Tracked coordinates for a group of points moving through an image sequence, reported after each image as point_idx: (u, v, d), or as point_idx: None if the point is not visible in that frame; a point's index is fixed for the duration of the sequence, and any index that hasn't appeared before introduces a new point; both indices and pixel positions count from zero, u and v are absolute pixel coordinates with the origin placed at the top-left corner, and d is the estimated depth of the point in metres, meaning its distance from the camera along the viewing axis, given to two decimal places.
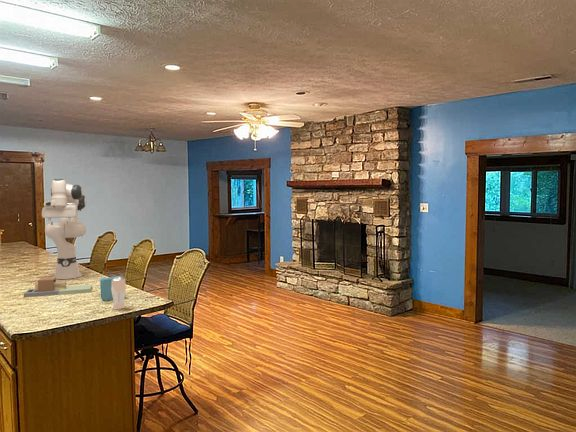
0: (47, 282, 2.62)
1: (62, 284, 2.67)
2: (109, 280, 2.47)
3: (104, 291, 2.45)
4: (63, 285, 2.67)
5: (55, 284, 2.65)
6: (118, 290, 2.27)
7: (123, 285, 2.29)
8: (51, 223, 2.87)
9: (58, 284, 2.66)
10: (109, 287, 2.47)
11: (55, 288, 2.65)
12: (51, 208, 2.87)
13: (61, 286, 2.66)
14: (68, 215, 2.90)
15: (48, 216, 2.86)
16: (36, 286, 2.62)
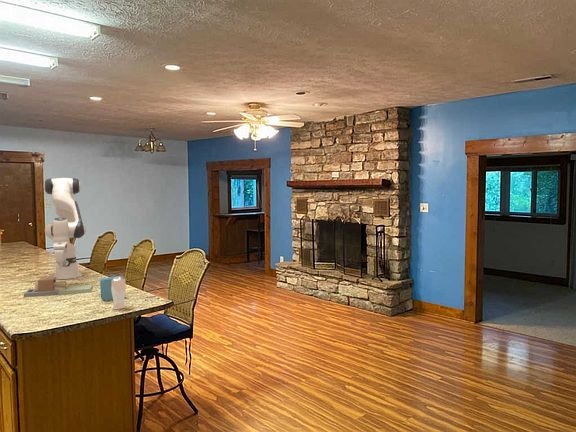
0: (47, 282, 2.62)
1: (62, 284, 2.67)
2: (109, 280, 2.47)
3: (104, 291, 2.45)
4: (63, 285, 2.67)
5: (55, 284, 2.65)
6: (118, 290, 2.27)
7: (123, 285, 2.29)
8: (62, 267, 2.63)
9: (58, 284, 2.66)
10: (109, 287, 2.47)
11: (55, 288, 2.65)
12: (64, 250, 2.64)
13: (61, 286, 2.66)
14: (66, 256, 2.73)
15: (63, 259, 2.62)
16: (36, 286, 2.62)
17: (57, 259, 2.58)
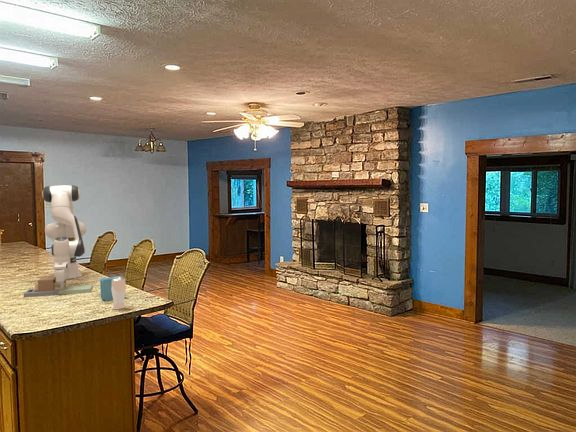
0: (47, 282, 2.62)
1: None
2: (109, 280, 2.47)
3: (104, 291, 2.45)
4: None
5: (55, 284, 2.65)
6: (118, 290, 2.27)
7: (123, 285, 2.29)
8: (63, 286, 2.66)
9: (58, 284, 2.66)
10: (109, 287, 2.47)
11: (55, 288, 2.65)
12: (65, 270, 2.65)
13: None
14: (67, 275, 2.74)
15: (64, 279, 2.63)
16: (36, 286, 2.62)
17: (58, 279, 2.58)
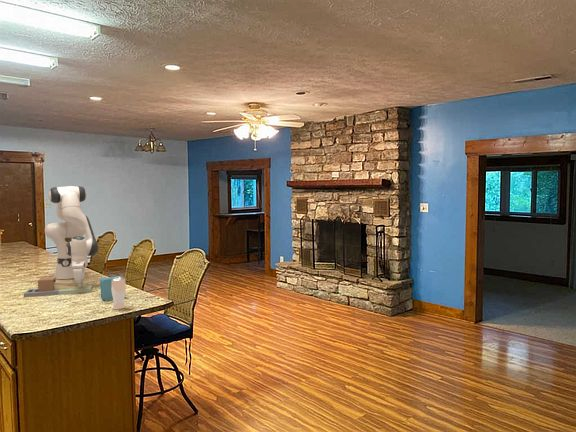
0: (47, 282, 2.62)
1: None
2: (109, 280, 2.47)
3: (104, 291, 2.45)
4: None
5: (71, 283, 2.68)
6: (118, 290, 2.27)
7: (123, 285, 2.29)
8: (81, 285, 2.69)
9: (74, 283, 2.68)
10: (109, 287, 2.47)
11: (71, 287, 2.68)
12: (82, 269, 2.67)
13: (77, 285, 2.69)
14: (84, 274, 2.77)
15: None
16: None
17: (76, 278, 2.61)
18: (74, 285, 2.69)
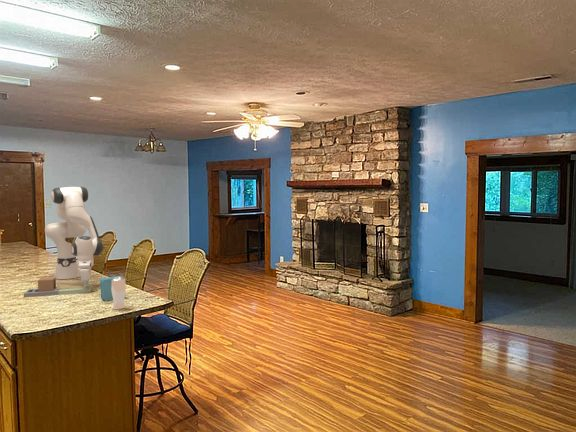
0: (47, 282, 2.62)
1: (83, 283, 2.70)
2: (109, 280, 2.47)
3: (104, 291, 2.45)
4: None
5: (76, 283, 2.69)
6: (118, 290, 2.27)
7: (123, 285, 2.29)
8: (87, 284, 2.70)
9: (79, 283, 2.69)
10: (109, 287, 2.47)
11: (76, 287, 2.69)
12: None
13: (82, 285, 2.70)
14: (90, 274, 2.78)
15: (88, 278, 2.67)
16: (58, 285, 2.66)
17: (82, 278, 2.62)
18: (79, 285, 2.69)
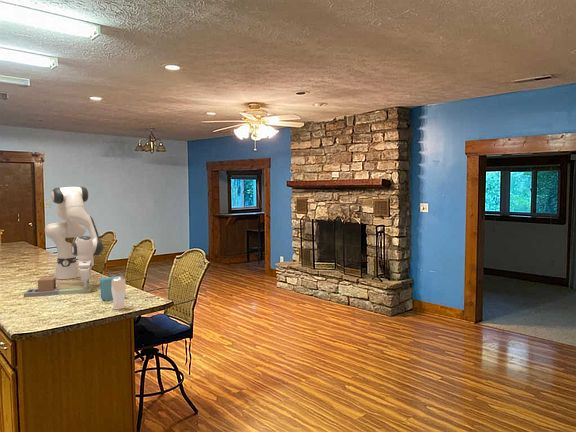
0: (47, 282, 2.62)
1: (83, 283, 2.70)
2: (109, 280, 2.47)
3: (104, 291, 2.45)
4: None
5: (76, 283, 2.69)
6: (118, 290, 2.27)
7: (123, 285, 2.29)
8: None
9: (79, 283, 2.69)
10: (109, 287, 2.47)
11: (76, 287, 2.69)
12: None
13: (82, 285, 2.70)
14: (90, 274, 2.78)
15: (88, 278, 2.67)
16: (58, 285, 2.66)
17: (82, 278, 2.63)
18: (79, 285, 2.70)
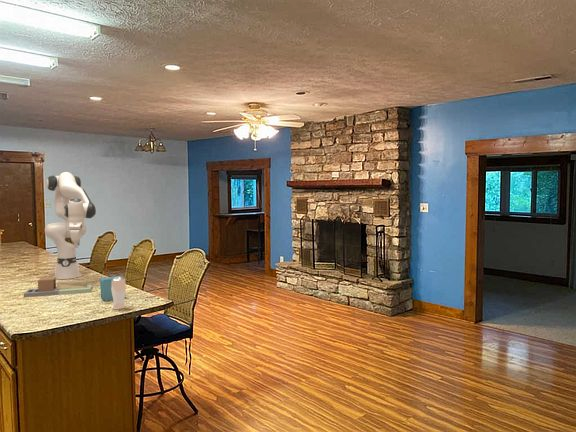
0: (47, 282, 2.62)
1: (83, 283, 2.70)
2: (109, 280, 2.47)
3: (104, 291, 2.45)
4: (84, 284, 2.70)
5: (76, 283, 2.69)
6: (118, 290, 2.27)
7: (123, 285, 2.29)
8: (77, 246, 2.76)
9: (79, 283, 2.69)
10: (109, 287, 2.47)
11: (76, 287, 2.69)
12: (79, 230, 2.76)
13: (82, 285, 2.70)
14: None
15: (78, 239, 2.74)
16: (58, 285, 2.66)
17: (73, 239, 2.70)
18: (79, 285, 2.70)
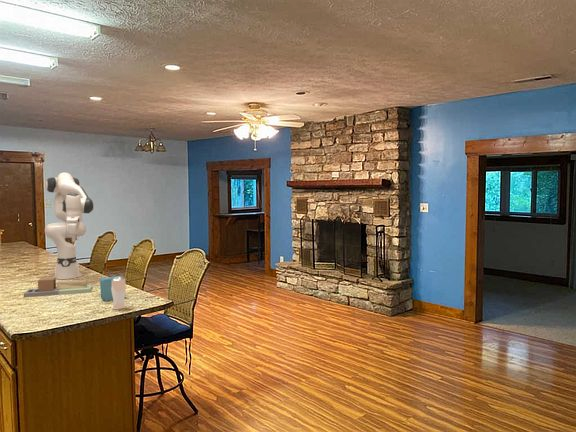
0: (47, 282, 2.62)
1: (83, 283, 2.70)
2: (109, 280, 2.47)
3: (104, 291, 2.45)
4: (84, 284, 2.70)
5: (76, 283, 2.69)
6: (118, 290, 2.27)
7: (123, 285, 2.29)
8: None
9: (79, 283, 2.69)
10: (109, 287, 2.47)
11: (76, 287, 2.69)
12: (77, 224, 2.78)
13: (82, 285, 2.70)
14: (78, 230, 2.87)
15: (76, 233, 2.76)
16: (58, 285, 2.66)
17: (70, 232, 2.72)
18: (79, 285, 2.70)
